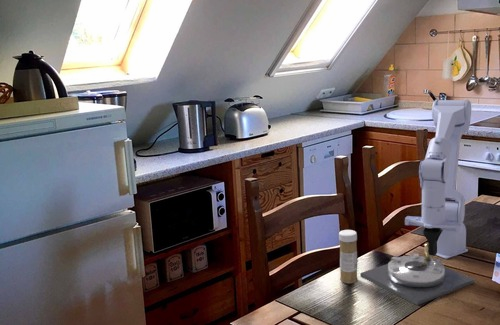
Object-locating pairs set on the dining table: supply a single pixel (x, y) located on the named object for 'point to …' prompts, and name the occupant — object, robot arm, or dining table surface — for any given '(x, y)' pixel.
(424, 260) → the tabbed hub disc
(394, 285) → the base plate
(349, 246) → the sprinkles bottle
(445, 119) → the robot arm
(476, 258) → the dining table surface
